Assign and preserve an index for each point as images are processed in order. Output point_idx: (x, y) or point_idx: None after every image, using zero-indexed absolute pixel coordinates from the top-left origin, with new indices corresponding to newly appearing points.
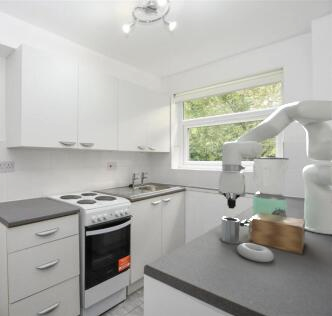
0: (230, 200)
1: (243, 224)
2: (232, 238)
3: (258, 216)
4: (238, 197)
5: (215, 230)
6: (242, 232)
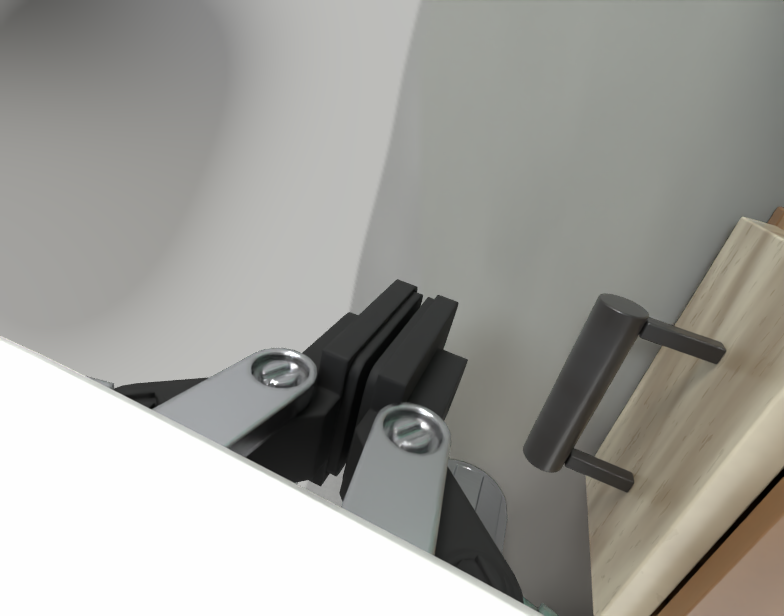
0: (338, 470)
1: (558, 466)
2: None
3: (755, 603)
4: (481, 530)
5: (363, 307)
6: (584, 247)
